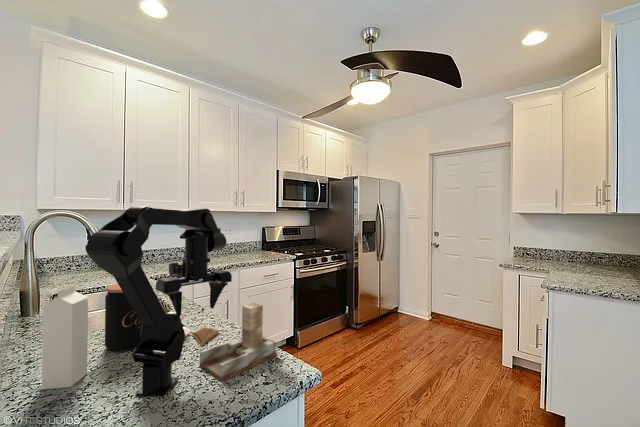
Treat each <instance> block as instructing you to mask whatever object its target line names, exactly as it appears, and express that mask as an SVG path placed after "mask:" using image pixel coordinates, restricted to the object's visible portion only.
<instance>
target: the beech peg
mask: <svg viewBox="0 0 640 427" xmlns="http://www.w3.org/2000/svg"><path fill="white" fill-rule="evenodd" d="M241 308H242V309H241V311H242V312H241V313H242V314H241V315H242V316H241V319H242V321H241V338H242V347H240V348H237V349H236V353H237V354H239V355H243V354H242V353H243V351H244V350H246V349H249V348H251V347H254V346H256V345H259V344H262V338H263V337H264V336H263V334H264V333H263V332H264V331H263V324H264V322H263V320H264V319H263V318H264V317H263V316H264V314H263V313H264V312H263V311H264V306H263V305H261V304H260V303H256V302H251V303H248V304H244V305H241Z"/></svg>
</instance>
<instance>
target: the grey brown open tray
mask: <svg viewBox="0 0 640 427" xmlns="http://www.w3.org/2000/svg"><path fill="white" fill-rule="evenodd" d="M276 344H277V343H276V341H274V340H271V339H269V338H267V337H265V336H263V338H262V344H259V345H256V346H254V347H251V348H249V349H246V350H244V351H243V353H242V354H243V355H239V354H237V353H236V349H237V348H240V347H242V337H240V338H237V339H234V340H232V341H229V342H223V343H221V344H217V345H215V346H212V347H209V348H206V349H204V350H201V351H199V367H200V368H202V369H203V370H205V371H206V372H208V373H209V374H211V376H212V377H215V378H216V379H217V380H219V381H220V382H224V381H227V380H228V379H231V378H233V377H236V376H237V375H239V374H242V373H244V372H246V371H248V370H251V369H252V368H254V367H256V366H258V365H262V364H263V363H266V362H268V361H270V360H272V359H275V358H276V357H278V352H277V351H276V348H277V347H276Z"/></svg>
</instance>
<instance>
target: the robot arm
mask: <svg viewBox="0 0 640 427" xmlns="http://www.w3.org/2000/svg"><path fill="white" fill-rule="evenodd" d="M153 225H154V226H155V225H157V226H160V225H161V226H176V227H178V228H180V229H183V230H185V231H184V232H183V233H181V234H180V236H179V239H180V240H182V239H183V240H184V242H185V243H184V257H183V258H182V263H181V264H179V263H178V262H170V263H169V264H168V275H169V276H170V277H169V276H168V277H163V278H162V277H161V278H158V280H156V282H155V290H154V288H153V286H152V285H151V283H150V281H149V280H150V279H148V277H147V275H146V273H145V271H144V269H143V267H142V261H143V256H144V251H143V248H142V246H143V245H144V244H145V243H146V242H147V240H148V239H149V235H150V229H151V227H153ZM226 245H227V238H226V235H225V234H224V233H222V232H221V228H220V227H218V225H217V223H216V221H215V218H214V216H213V214H212V213H211V210H210V209H208V208H182V209H179V210H176V209H167V208H157V207H156V208H155V207H151V206H130V207H128V208H127V209H126V210H125V211H124V212H123V213H122V214H120V215H119V216H118V217H115V218H114V219H112V220H111V221H109V222H107V223H106V224H104V225H103V226H102V227H101V228H100V229H99V230H98V231H96V232H94V233H93V234H91V235H90V236H89V238H88V240H87V243H86V244H85V252H86V255H87V256H88V257H89V258H90V260H92V262H93V263H95V264H96V266H97V267H99V268H100V269H101V270H103V271H105V272H106V273H108V274H110V275H112V276H113V278H114V279H115V281H116V284H117V283H118V284H119V286H120V288H121V290H122V291H123V293H124V295H125V296H126V298H127V300H128V301H129V303H130V305H131V306H132V308H133V310H134V312H135V313H136V315H137V317H138V318H139V320H140V322H141V323H142V329H141V333H140V335H141V338H142V340H141V341H140V343H139V345H138V346H137V348H135V350H134V351H133V353H132V359H133V361H134V363H139V364H142V378H141V379H142V382H141V383H142V384H141V386H140V388H139V387H138V389H137V390H136V391H135V393H134V394H135V396H150V397H151V396H154V397H155V396H156V397H158V396H161V397H162V396H165V395H167V393H168V392H169V391H170V390H171V389H172V387H173V386H174V385H175V384H176V383H177V382H178V380H179V377H172V376H173V375H172V373H173V372H172V369H173V368H172V366H173V365H172V364H173V363H175V362H176V361H178V360H180V358H181V357H182V352H183V347H184V343H185V339H186V336H185V332H184V329H183V327H185V326H186V325H185V324H183V323H182V322H181V319H180V316H181V313H182V305H183V304H182V303H183V301H182V300H183V291H180V289H182V287H186V286H191V285H196V284H202V283H208V286H209V291H210V294H209V307H210V309H211V310H212V309H214V308H215V306H216V304H217V301H218V299H219V297H220V296H221V293H222V292H223V290H224V288H225V287H226V286H228V284H229V283H232V279H233V278H232V277H233V276H232V273H231V271H229V270H224V269H218V270H217V269H216V270H210V272H208V268H209V267H208V266H209V264H208V263H211V258H210V257H208V256H209V255H208V254H209V253H213V252H218V251H222V250H223V249H224V248H225V247H226ZM173 276H175V277H173ZM155 291H158V292H161V294H165V295H167V296H168V298H169V300H170V301H171V303H172V306H173V308H174V312H176V314H168V313H169V312H166V311H165V310H164V307H163V306H162V303H161V302H160V299H159V298H158V295H157V294H156V292H155Z"/></svg>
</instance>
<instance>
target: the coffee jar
mask: <svg viewBox="0 0 640 427" xmlns="http://www.w3.org/2000/svg"><path fill="white" fill-rule="evenodd" d="M105 291H106V292H107V294H106V295H105V297H104V300H105V306H104V310H105V312H104V314H105V315H104V346H105V348H106V349H107V350H108V351H109V352H115V353H118V352H119V353H120V352H121V353H122V352H127V351H131V350H134V349H136V348H137V346H138V345H139V343H140V341H141V340H142V338H141V335H140V333H141V329H142V323H141V322H140V320H139V318H138V317H137V315H136V313H135V312H134V310H133V308H132V306H131V305H130V303H129V301H128V300H127V298H126V296H125V295H124V293H123V291H122V290H121V288H120V286H119V284H118V283H117V282H116V283H114V284H110V285H106V287H105Z"/></svg>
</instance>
